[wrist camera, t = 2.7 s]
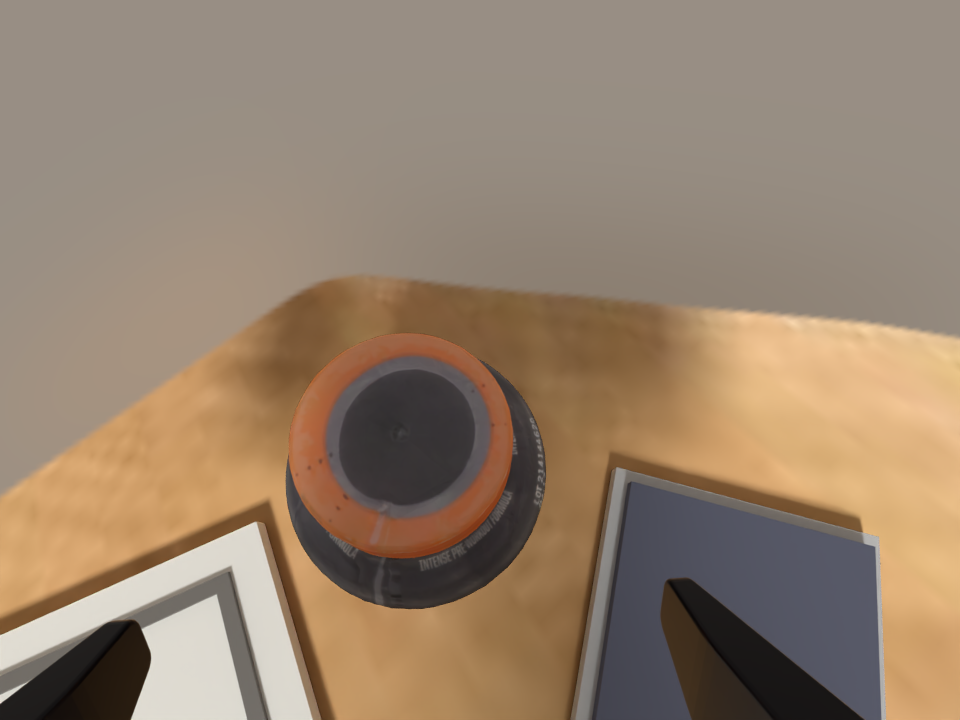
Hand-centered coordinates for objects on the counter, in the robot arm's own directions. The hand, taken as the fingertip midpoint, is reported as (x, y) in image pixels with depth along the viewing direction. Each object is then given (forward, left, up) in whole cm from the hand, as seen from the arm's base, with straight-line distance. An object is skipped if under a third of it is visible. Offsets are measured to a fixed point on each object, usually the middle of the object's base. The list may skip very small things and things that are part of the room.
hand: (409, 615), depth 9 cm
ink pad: (+4, -9, -10) cm, 14 cm away
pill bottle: (+3, +2, -10) cm, 11 cm away
